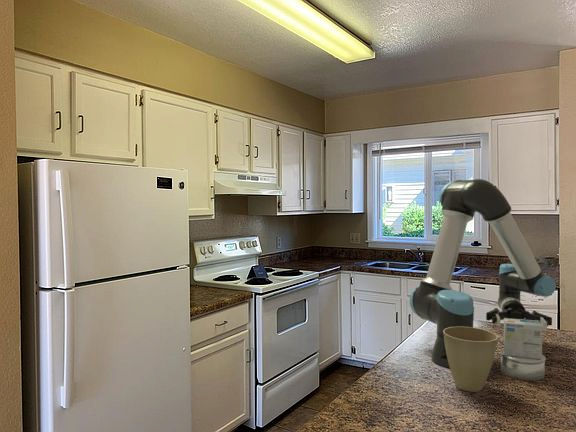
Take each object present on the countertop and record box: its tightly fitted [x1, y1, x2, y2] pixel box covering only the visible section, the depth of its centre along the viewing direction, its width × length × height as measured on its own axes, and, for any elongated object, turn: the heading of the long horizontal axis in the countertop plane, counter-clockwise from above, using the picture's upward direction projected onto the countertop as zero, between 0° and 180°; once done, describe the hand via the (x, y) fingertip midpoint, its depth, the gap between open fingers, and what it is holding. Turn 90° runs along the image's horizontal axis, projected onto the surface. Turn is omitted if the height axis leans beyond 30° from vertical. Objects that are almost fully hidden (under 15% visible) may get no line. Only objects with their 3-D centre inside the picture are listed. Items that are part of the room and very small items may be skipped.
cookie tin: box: [499, 348, 547, 381], centre depth 143 cm, size 13×13×6 cm
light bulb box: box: [503, 318, 543, 359], centre depth 142 cm, size 11×7×11 cm, turn 69°
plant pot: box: [443, 326, 499, 393], centre depth 131 cm, size 15×15×16 cm
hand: (522, 324), depth 146 cm, fingers open, 13 cm apart
